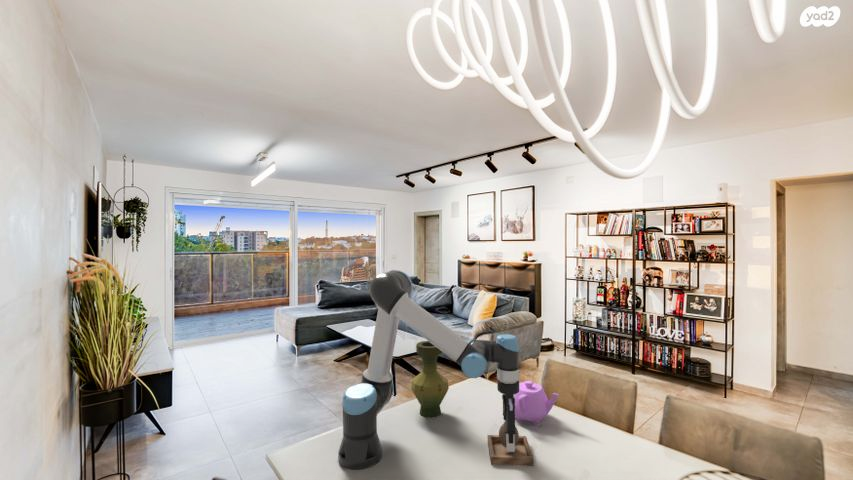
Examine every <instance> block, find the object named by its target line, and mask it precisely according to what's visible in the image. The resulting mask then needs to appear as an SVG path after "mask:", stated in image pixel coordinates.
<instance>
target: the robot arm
mask: <svg viewBox="0 0 853 480" xmlns="http://www.w3.org/2000/svg"><path fill="white" fill-rule="evenodd" d="M412 282H413V281H412V279H411V277H410V276H409V275H408V274H407V273H406V272H404V271H402V270H399V269H398V270H395V269H393V270H392V269H391V270H389V271H386V272H382V273H378V274H377V275H375V277H373V279H371V282H370V283H369V284H370V285H369V295H370V297H371V299H372V301H373V302H374V304H375V307H377V313H376V314H377V315H376V320H375V327H374V331H373V337H372V342H371V343H372V344H371V348H370V354H369V360H368V367H367V368H366V369H364V370H363V372H362V376H361V383H356V384H354V385H352V386H351V385H350V386H349V387H348V388H347V389H345V391H344V392H343V395H342V401H341V406H342V439H341V443H340V445H339V449H338V455H337V456H338V457H337V458H338V459H337V461H338V464H339V465H341V466H342V467H344V468H346V469H349V468H350V469H351V470H361V469H362V470H363V469H368V468H370V467H372V466H374V465H376V464H377V463H379V461H380V460H381V459H382V457H383V446H382V443H381V441H380V437H379V435H378V426H377V425H378V423H377V422H378V421H377V420H378V418H377V416H378V414H380V412H381V411H382V410H383V409H384V408H385V406H386V405H388V403H389V402H390V401H391V399H392V396H393V394H394V383H393V380H394V379H393V378H394V375H393V373H392V372H391V369H392V368H391V367H392V362H393V357H394V352H395V345H396V339H397V334H398V328H399V322H400V321H402V322H403V323H404V324H406V325H407V326H408V327H410V328H411V329H412V330H414V332H416V333H417V334H418V335H420V336H421V337H423V338H424V339H425V341H429V342H430V343H432V344H433V345H434V346H436V347H437V348H438V349H440V350H441V351H442V354H443V353H444V354H445V355H446V356H447V357H449V359H451V360H452V361H453V362H455V363H457V365H459V366H460V367H461V370H462V373H463V374H464V375H465V376H466V377H468V378H470V379H479V378H480V377H482V376H483V374H484V372H485V371H486V369H487V367H488V366H487V365H488V363H496V372H497V373H496V379H497V387H496V388H497V391H498V392H499V393H500V394H502V395H501V398H502V416H503V423H504V422H505V420H506V422H507V431H505V433H506V446H507V452H515V434H516V432H515V426H516V420H515V398H514V394H517V393H518V392H519V383H520V374H521V373H522V371H521V370H520V347H519V338H518V337H517V336H516V335H514V334H509V333H508V334H507V333H505V334H504V333H503V334H499V335H497V336H496V340H487V339H486V340H485V339H475V338H472V339H465V338H463V337H462V336H461V335H459V334H458V333H456V332H455V331H454V330H452V329H451V328H450V327H448V326H447V324H444V323H443V322H442V321H440V319H438V318H436V317H435V316H434V315H432V314H431V313H430V312H428V311H427V310H426V309H425V308H423V307H422V306H420V305H419V304H418V303H416V302H415V301H414V300H412V299H411V298H410V297H409V296H410V294H411V292H412V289H413V283H412Z"/></svg>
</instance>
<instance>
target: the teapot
mask: <svg viewBox="0 0 853 480" xmlns="http://www.w3.org/2000/svg"><path fill="white" fill-rule="evenodd" d="M559 396H560V395H559V393H556V392H553V393H552V396H551V397H550V398H549V399H548V396H547V393H546V392H545V390H544V387H543V386H542V385H541V384H538V383H536V382H533V381H531V380H526V381H521V382H519V392H518V393H517V394H514V398H515V421H517V422H518V421H522V420H523V421H528V422H531V424H532V425H534V426H539V425H540V422H541V421H542V420H544V419H545V418H546V417H547V416H548V414H549V413H550V411H551V410H552V409H553V406H554V405H555V403H556V401H557V399H558V397H559Z"/></svg>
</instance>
